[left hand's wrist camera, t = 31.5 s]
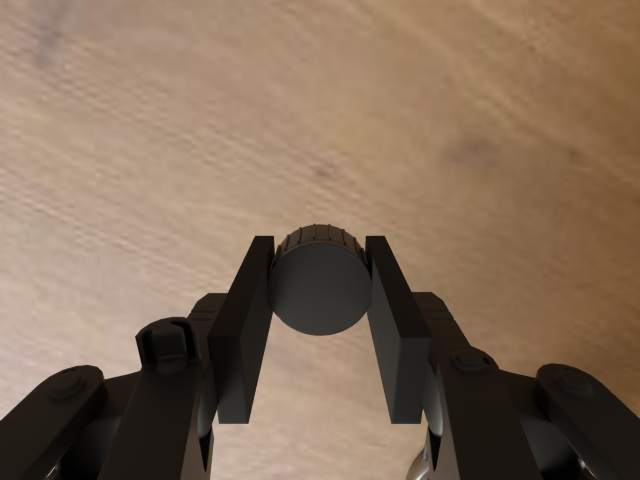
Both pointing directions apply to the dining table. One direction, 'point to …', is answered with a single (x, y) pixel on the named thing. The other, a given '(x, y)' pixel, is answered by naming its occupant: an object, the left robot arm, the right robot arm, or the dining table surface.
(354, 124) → the dining table surface
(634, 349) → the dining table surface
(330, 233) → the cap
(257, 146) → the dining table surface
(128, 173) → the dining table surface
